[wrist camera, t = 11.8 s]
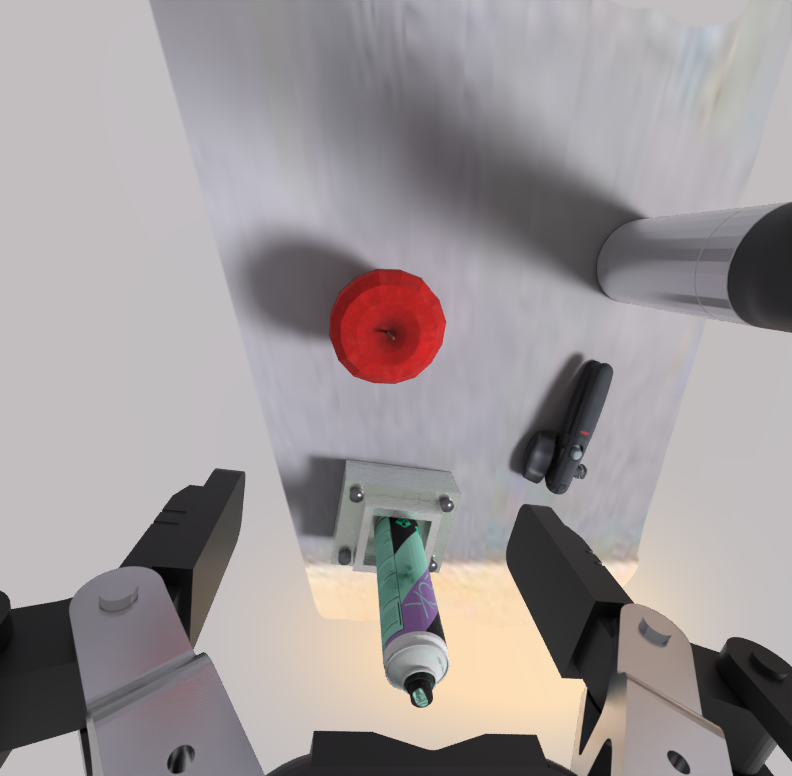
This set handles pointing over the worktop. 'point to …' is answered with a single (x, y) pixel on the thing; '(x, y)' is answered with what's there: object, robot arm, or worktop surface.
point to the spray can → (408, 611)
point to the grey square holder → (392, 510)
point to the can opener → (569, 433)
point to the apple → (386, 326)
